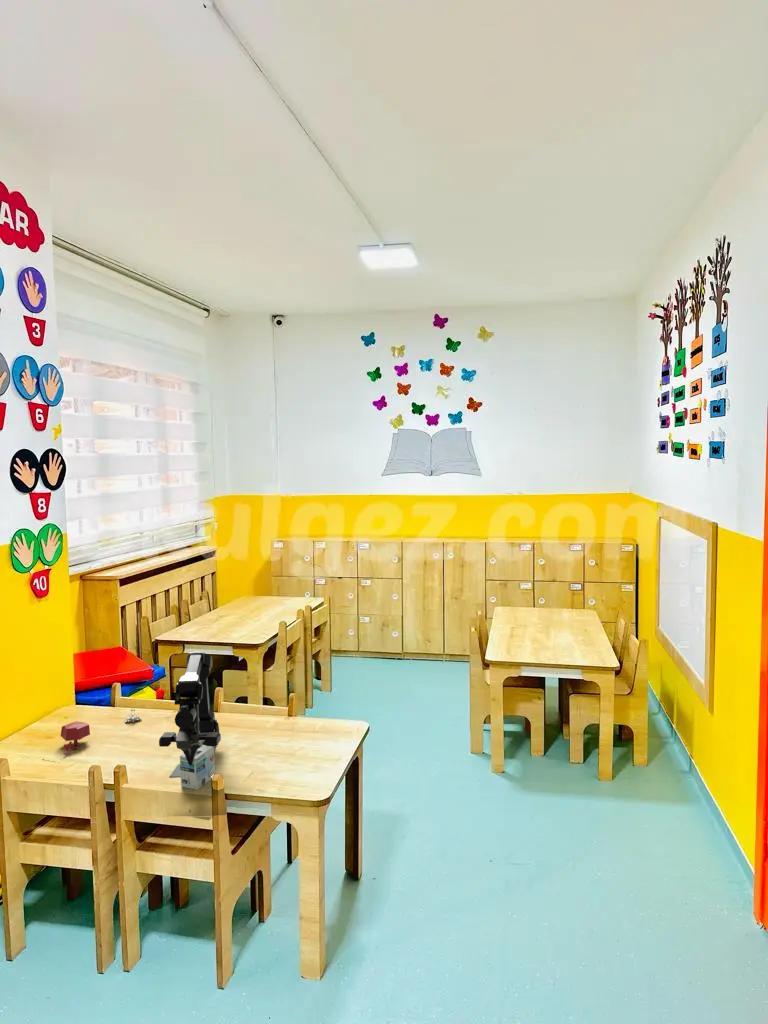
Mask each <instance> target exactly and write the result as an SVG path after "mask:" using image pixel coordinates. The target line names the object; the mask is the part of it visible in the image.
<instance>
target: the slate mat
mask: <svg viewBox="0 0 768 1024" xmlns="http://www.w3.org/2000/svg"><path fill="white" fill-rule="evenodd" d="M169 778H181V771H180V763H178V764H177V765H176V766H175V768H174V769H173V771H172V772H171V774H170V775H169Z"/></svg>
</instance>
